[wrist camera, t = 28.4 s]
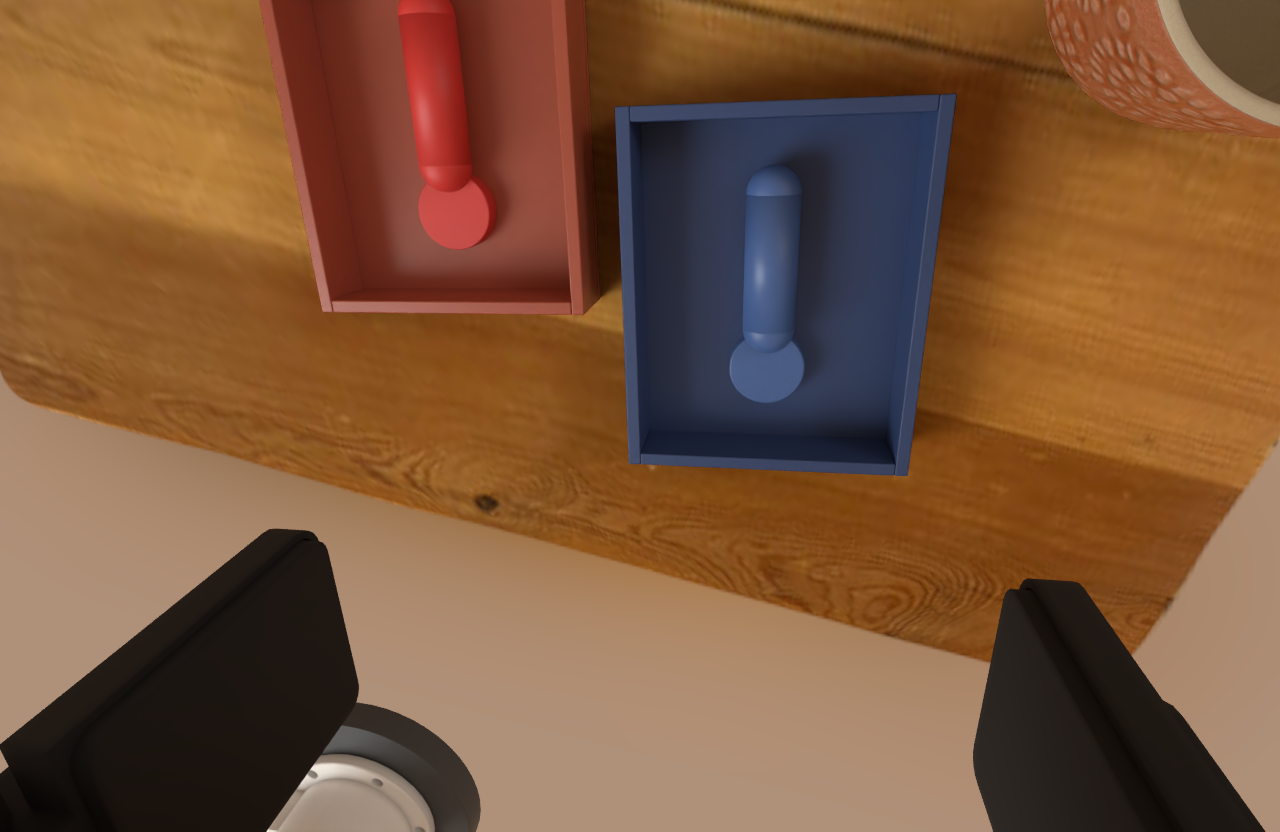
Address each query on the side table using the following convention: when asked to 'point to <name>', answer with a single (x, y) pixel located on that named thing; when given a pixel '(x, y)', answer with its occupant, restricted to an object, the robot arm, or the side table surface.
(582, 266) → the red bin
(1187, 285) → the side table surface
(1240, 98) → the planter
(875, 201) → the blue bin
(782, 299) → the blue spoon
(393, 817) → the robot arm
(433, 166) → the red spoon
